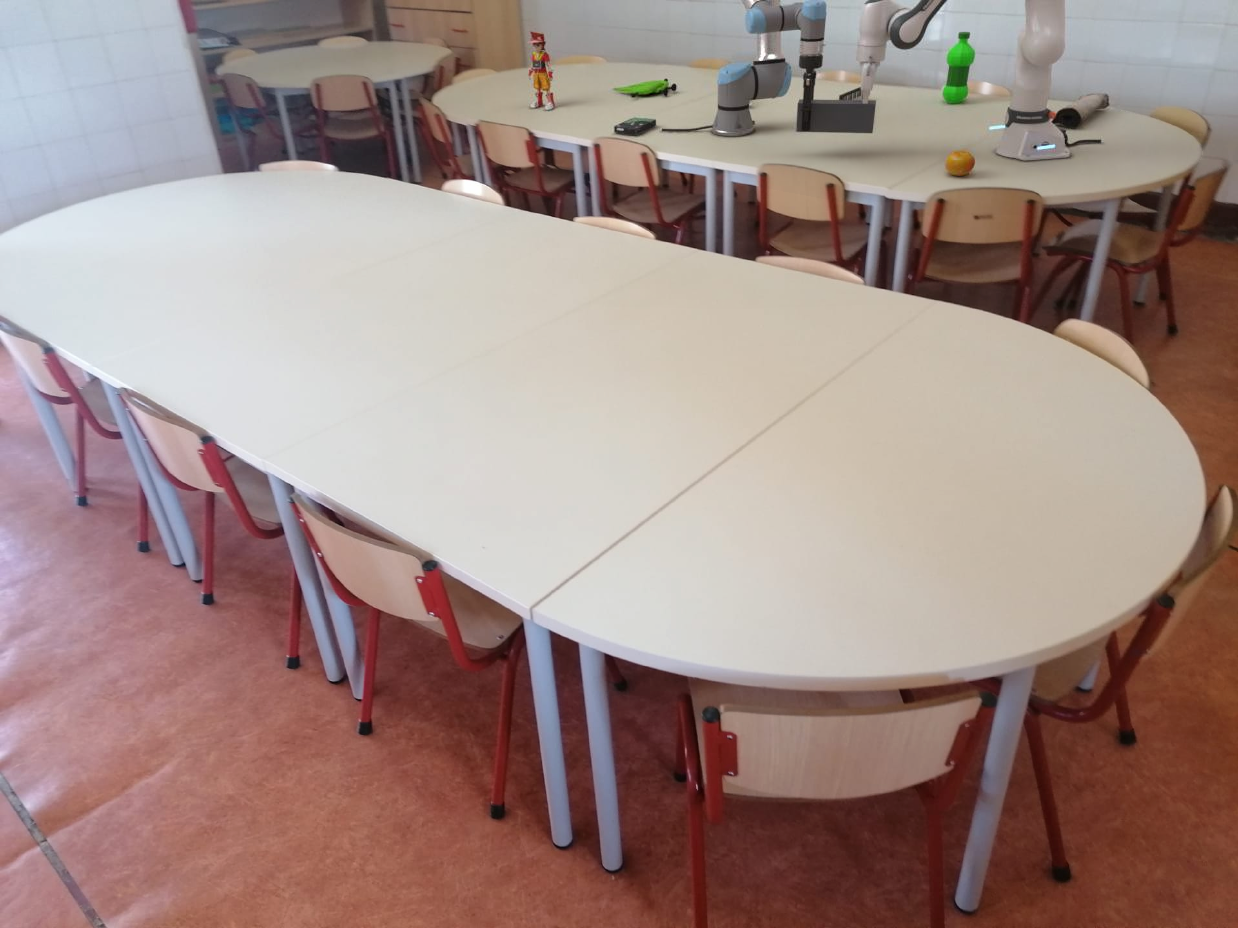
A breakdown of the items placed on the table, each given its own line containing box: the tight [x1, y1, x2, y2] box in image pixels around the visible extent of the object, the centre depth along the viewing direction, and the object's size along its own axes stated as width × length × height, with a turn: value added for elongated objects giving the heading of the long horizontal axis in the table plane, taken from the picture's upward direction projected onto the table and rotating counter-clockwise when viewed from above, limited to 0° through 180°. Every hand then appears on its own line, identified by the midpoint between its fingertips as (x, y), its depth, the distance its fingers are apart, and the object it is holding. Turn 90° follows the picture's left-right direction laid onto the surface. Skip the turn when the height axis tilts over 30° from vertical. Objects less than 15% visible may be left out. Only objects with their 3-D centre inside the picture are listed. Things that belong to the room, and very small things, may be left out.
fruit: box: [944, 150, 976, 177], centre depth 280 cm, size 8×8×8 cm
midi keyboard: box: [838, 86, 863, 100], centre depth 359 cm, size 18×1×5 cm, turn 138°
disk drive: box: [613, 116, 657, 136], centre depth 344 cm, size 10×3×15 cm
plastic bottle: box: [942, 31, 976, 104], centre depth 348 cm, size 10×10×25 cm
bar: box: [795, 98, 877, 134], centre depth 298 cm, size 25×5×9 cm, turn 74°
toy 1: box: [527, 31, 556, 111], centre depth 374 cm, size 12×9×30 cm
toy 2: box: [612, 78, 677, 99], centre depth 396 cm, size 28×5×30 cm
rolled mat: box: [1051, 92, 1110, 129], centre depth 325 cm, size 30×9×10 cm
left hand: (806, 128), depth 303 cm, fingers closed on bar, 5 cm apart
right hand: (865, 99), depth 293 cm, fingers open, 8 cm apart
